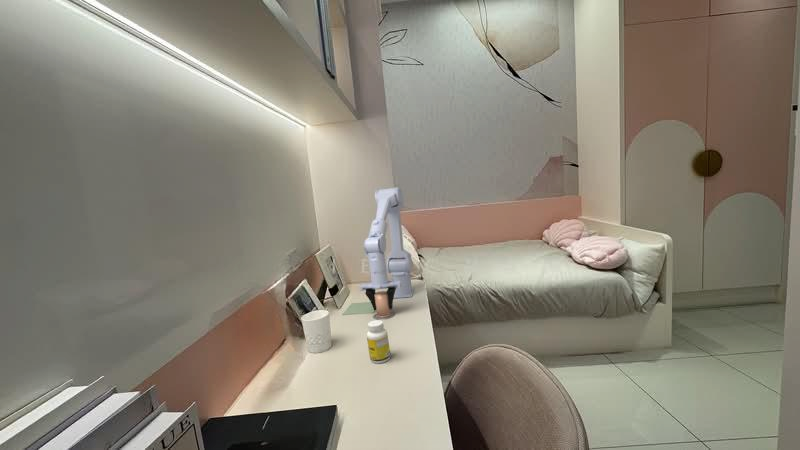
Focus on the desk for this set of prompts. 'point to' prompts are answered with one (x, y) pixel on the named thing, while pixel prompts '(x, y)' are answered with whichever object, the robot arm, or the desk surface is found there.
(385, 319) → the coaster
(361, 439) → the desk surface
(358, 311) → the mat
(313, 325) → the white cup
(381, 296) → the terracotta cup
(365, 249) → the robot arm
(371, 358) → the supplement bottle
